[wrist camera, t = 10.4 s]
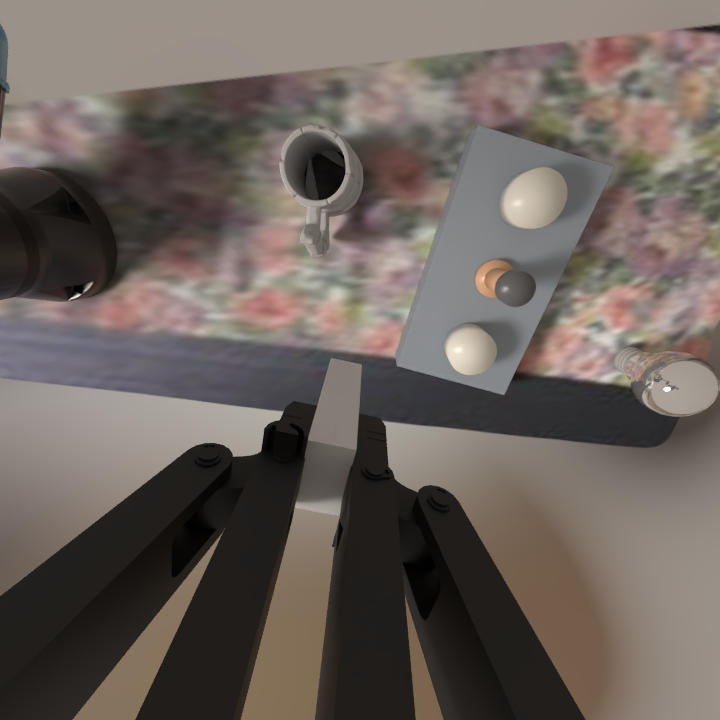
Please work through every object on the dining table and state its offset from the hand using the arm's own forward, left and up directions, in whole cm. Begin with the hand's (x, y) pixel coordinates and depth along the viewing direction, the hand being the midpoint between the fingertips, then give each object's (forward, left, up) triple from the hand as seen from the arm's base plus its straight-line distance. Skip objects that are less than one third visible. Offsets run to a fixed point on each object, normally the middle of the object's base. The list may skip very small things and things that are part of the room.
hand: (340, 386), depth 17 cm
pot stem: (+13, +6, -24) cm, 28 cm away
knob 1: (+13, -2, -28) cm, 31 cm away
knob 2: (+13, +14, -28) cm, 34 cm away
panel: (+13, +6, -28) cm, 32 cm away
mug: (-7, +9, -29) cm, 31 cm away
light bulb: (+34, +1, -29) cm, 45 cm away
